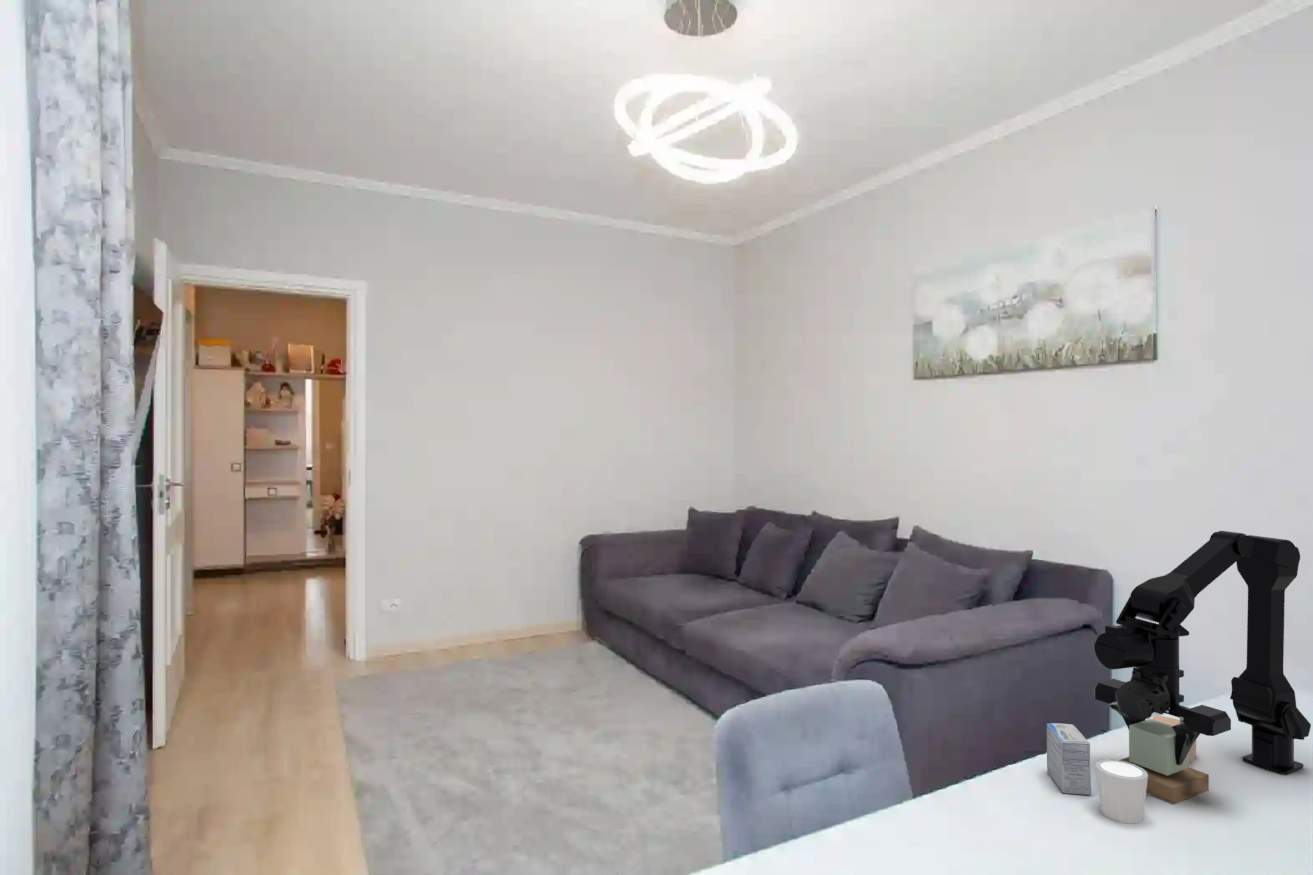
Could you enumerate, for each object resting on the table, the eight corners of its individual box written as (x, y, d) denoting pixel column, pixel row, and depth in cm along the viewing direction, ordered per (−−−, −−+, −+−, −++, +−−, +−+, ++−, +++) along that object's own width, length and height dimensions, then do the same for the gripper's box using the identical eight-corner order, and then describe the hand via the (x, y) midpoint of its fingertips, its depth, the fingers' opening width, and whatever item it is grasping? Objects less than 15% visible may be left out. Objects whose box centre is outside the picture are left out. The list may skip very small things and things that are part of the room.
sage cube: (1150, 753, 128) (1150, 718, 127) (1188, 767, 122) (1188, 731, 122) (1129, 760, 125) (1129, 725, 125) (1167, 775, 119) (1167, 738, 119)
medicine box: (1091, 796, 120) (1091, 742, 120) (1061, 793, 121) (1061, 740, 120) (1074, 774, 127) (1074, 723, 127) (1046, 771, 128) (1046, 721, 128)
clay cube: (1157, 746, 138) (1157, 714, 138) (1196, 757, 134) (1196, 723, 134) (1147, 756, 134) (1147, 723, 134) (1187, 767, 130) (1187, 733, 130)
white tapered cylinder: (1130, 830, 110) (1130, 782, 109) (1085, 809, 116) (1085, 764, 116) (1158, 818, 113) (1157, 772, 113) (1112, 798, 119) (1112, 755, 119)
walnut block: (1145, 765, 130) (1145, 751, 130) (1208, 789, 121) (1208, 774, 121) (1109, 777, 126) (1109, 763, 126) (1173, 804, 117) (1173, 788, 117)
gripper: (1073, 655, 128) (1073, 745, 128) (1192, 688, 111) (1192, 792, 112) (1113, 646, 133) (1113, 733, 133) (1232, 676, 116) (1233, 775, 117)
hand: (1158, 756), depth 124 cm, fingers closed on sage cube, 6 cm apart
